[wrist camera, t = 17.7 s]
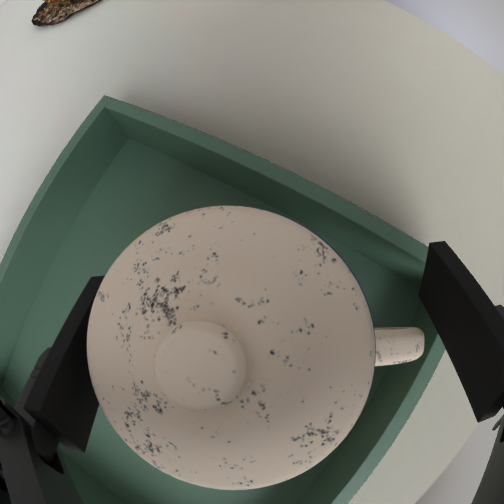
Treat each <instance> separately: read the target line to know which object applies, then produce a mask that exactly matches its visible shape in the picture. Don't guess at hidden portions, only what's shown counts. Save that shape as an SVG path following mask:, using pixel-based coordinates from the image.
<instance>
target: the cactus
mask: <svg viewBox="0 0 504 504" xmlns="http://www.w3.org/2000/svg"><path fill="white" fill-rule="evenodd" d="M44 1H45V2H44V3H43V4H42V5H41V6H40V7H39V8H38V9H37V12H36V14H35V15H34V16H33V19H32V23H33V24H34V25H38V26H42V25H45V24H46V25H52V24H56V23H57V22H59V21H62V20H64V19H65V18H66V17H68V16H69V15H70V14H72V13H75V12H76V11H78V10H80V9H83V8H85V7H86V6H88V5H90V4H93V3H94V2H96V1H98V0H44Z"/></svg>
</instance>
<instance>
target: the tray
mask: <svg viewBox="0 0 504 504" xmlns="http://www.w3.org/2000/svg"><path fill="white" fill-rule="evenodd" d="M212 206H243V207H251V208H257V209H261V210H266V211H270V212H273V213H276V214H279V215H282V216H284V217H287V218H289V219H291V220H293V221H296V222H297V223H299V224H301V225H303V226H304V227H306V228H308V229H309V230H311V231H312V232H314V233H315V234H317V235H318V236H319V237H321V238H322V239H323V240H324V241H325V242H326V243H328V244H329V245H330V246H331V247H332V248H333V249H334V250H335V251H336V252H337V253H338V254H339V255H340V256H341V258H342V259H343V260H344V261H345V263H346V264H347V265H348V267H349V268H350V269H351V271H352V272H353V274H354V276H355V277H356V279H357V280H358V282H359V284H360V286H361V288H362V290H363V292H364V295H365V297H366V300H367V303H368V305H369V308H370V312H371V316H372V320H373V324H374V328H385V327H416V328H419V329H421V330H422V331H423V333H424V351H423V354H422V355H421V356H420V357H419V358H417V359H416V360H413V361H410V362H406V363H400V364H393V365H383V366H375V370H374V375H373V380H372V385H371V388H370V391H369V395H368V397H367V400H366V402H365V405H364V407H363V409H362V412H361V414H360V415H359V417H358V419H357V421H356V423H355V424H354V426H353V427H352V429H351V430H350V432H349V433H348V434H347V436H346V437H345V438H344V439H343V441H342V442H341V443H340V444H339V445H338V446H337V447H336V448H335V449H334V450H333V451H332V452H331V453H330V454H329V455H328V456H327V457H326V458H324V459H323V460H322V461H320V462H319V463H318V464H316V465H315V466H313V467H312V468H310V469H308V470H307V471H305V472H303V473H302V474H299V475H297V476H295V477H293V478H291V479H289V480H286V481H283V482H280V483H277V484H274V485H270V486H266V487H261V488H255V489H247V490H222V489H213V488H207V487H202V486H198V485H194V484H190V483H188V482H185V481H182V480H179V479H177V478H175V477H172V476H170V475H168V474H166V473H164V472H162V471H161V470H159V469H157V468H155V467H154V466H152V465H151V464H149V463H148V462H147V461H145V460H144V459H143V458H141V457H140V456H139V455H138V454H137V453H135V452H134V451H133V450H132V449H131V448H130V447H129V446H128V445H127V444H126V443H125V442H124V441H123V439H122V438H121V437H120V436H119V435H118V433H117V432H116V431H115V429H114V428H113V427H112V425H111V424H110V422H109V421H108V419H107V417H106V415H105V414H104V412H103V410H102V408H101V406H100V404H99V407H98V410H97V413H96V417H95V420H94V423H93V426H92V430H91V433H90V437H89V440H88V443H87V447H86V451H85V453H83V452H79V451H74V450H70V449H68V448H66V447H65V446H64V445H63V444H62V443H60V442H59V444H58V449H59V450H60V451H61V453H62V455H63V457H64V460H65V462H66V465H67V467H68V470H69V472H70V474H71V477H72V479H73V481H74V483H75V486H76V488H77V490H78V492H79V494H80V496H81V498H82V500H83V502H84V504H347V503H348V502H349V501H350V500H351V499H352V497H353V496H354V495H355V494H356V493H357V491H358V490H359V489H360V488H361V486H362V485H363V484H364V482H365V481H366V480H367V479H368V477H369V476H370V475H371V473H372V472H373V471H374V469H375V468H376V466H377V465H378V464H379V462H380V461H381V459H382V458H383V457H384V455H385V454H386V452H387V451H388V449H389V448H390V446H391V445H392V443H393V442H394V440H395V439H396V437H397V436H398V434H399V433H400V431H401V430H402V428H403V426H404V425H405V423H406V422H407V420H408V418H409V417H410V415H411V413H412V412H413V410H414V408H415V406H416V405H417V403H418V401H419V399H420V398H421V396H422V394H423V392H424V390H425V389H426V387H427V385H428V383H429V381H430V379H431V377H432V375H433V373H434V371H435V369H436V367H437V365H438V363H439V361H440V359H441V357H442V355H443V353H444V351H445V349H446V348H445V346H444V344H443V342H442V340H441V338H440V336H439V334H438V332H437V330H436V328H435V326H434V324H433V322H432V321H431V319H430V317H429V315H428V313H427V311H426V309H425V307H424V305H423V304H422V302H421V300H420V298H419V296H418V295H419V291H420V286H421V282H422V278H423V273H424V268H425V263H426V258H427V253H428V248H429V247H427V246H425V245H424V244H422V243H420V242H419V241H417V240H415V239H414V238H412V237H410V236H409V235H407V234H405V233H404V232H402V231H400V230H399V229H397V228H395V227H393V226H392V225H390V224H388V223H387V222H385V221H383V220H381V219H380V218H378V217H376V216H374V215H372V214H371V213H369V212H367V211H365V210H363V209H362V208H360V207H358V206H356V205H354V204H352V203H351V202H349V201H347V200H345V199H343V198H341V197H339V196H337V195H336V194H334V193H332V192H330V191H328V190H326V189H324V188H322V187H320V186H318V185H316V184H314V183H312V182H310V181H308V180H306V179H304V178H302V177H300V176H298V175H296V174H294V173H292V172H290V171H288V170H286V169H284V168H282V167H280V166H278V165H275V164H273V163H271V162H269V161H267V160H265V159H263V158H261V157H258V156H256V155H254V154H252V153H250V152H247V151H245V150H243V149H241V148H238V147H236V146H234V145H232V144H229V143H227V142H225V141H222V140H220V139H218V138H215V137H213V136H211V135H208V134H206V133H204V132H201V131H199V130H196V129H194V128H191V127H189V126H186V125H184V124H181V123H179V122H176V121H174V120H171V119H169V118H166V117H163V116H161V115H158V114H155V113H153V112H150V111H147V110H145V109H142V108H139V107H136V106H134V105H131V104H128V103H125V102H122V101H119V100H116V99H114V98H111V97H108V96H105V95H104V96H103V98H102V99H101V100H100V101H99V103H98V104H97V105H96V106H95V108H94V109H93V110H92V111H91V113H90V114H89V115H88V117H87V118H86V119H85V121H84V122H83V123H82V125H81V126H80V127H79V129H78V130H77V131H76V133H75V134H74V136H73V137H72V138H71V140H70V141H69V143H68V144H67V146H66V147H65V148H64V150H63V151H62V153H61V154H60V156H59V157H58V159H57V160H56V162H55V164H54V165H53V167H52V168H51V170H50V171H49V173H48V175H47V176H46V178H45V179H44V181H43V183H42V184H41V186H40V188H39V190H38V191H37V193H36V195H35V196H34V198H33V200H32V202H31V204H30V205H29V207H28V209H27V211H26V213H25V215H24V216H23V218H22V220H21V222H20V224H19V226H18V228H17V230H16V232H15V234H14V236H13V238H12V240H11V242H10V244H9V247H8V249H7V251H6V253H5V255H4V257H3V260H2V262H1V264H0V396H2V397H3V398H4V399H5V400H6V401H7V402H8V403H9V404H10V405H11V406H12V407H13V408H15V406H16V404H17V402H18V399H19V397H20V395H21V393H22V391H23V389H24V386H25V384H26V382H27V380H28V378H30V374H31V372H32V370H34V366H35V364H36V362H37V360H38V358H39V356H40V355H41V354H42V353H43V352H44V351H45V350H46V349H47V347H52V345H53V343H54V341H55V339H56V337H57V336H58V334H59V332H60V330H61V328H62V326H63V324H64V323H65V321H66V319H67V317H68V315H69V314H70V312H71V310H72V308H73V306H74V305H75V303H76V301H77V300H78V298H79V296H80V294H81V293H82V291H83V289H84V288H85V286H86V284H87V283H88V281H89V279H90V278H91V277H94V276H105V275H106V274H107V272H108V270H109V269H110V267H111V266H112V265H113V263H114V262H115V260H116V259H117V258H118V257H119V256H120V254H121V253H122V252H123V251H124V250H125V249H126V248H127V247H128V246H129V245H130V244H131V243H132V242H133V241H134V240H135V239H136V238H138V237H139V236H140V235H142V234H143V233H144V232H145V231H147V230H148V229H150V228H152V227H153V226H155V225H156V224H158V223H160V222H162V221H164V220H166V219H168V218H170V217H173V216H175V215H178V214H181V213H184V212H187V211H191V210H194V209H199V208H205V207H212ZM473 277H474V276H473Z"/></svg>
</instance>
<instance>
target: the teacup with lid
mask: <svg viewBox="0 0 504 504" xmlns="http://www.w3.org/2000/svg"><path fill="white" fill-rule="evenodd" d="M423 351H424V333H423V331H422V330H421V329H419V328H416V327H385V328H374V324H373V320H372V316H371V312H370V308H369V305H368V303H367V300H366V297H365V295H364V292H363V290H362V288H361V286H360V284H359V282H358V280H357V279H356V277H355V276H354V274H353V272H352V271H351V269H350V268H349V267H348V265H347V264H346V263H345V261H344V260H343V259H342V258H341V256H340V255H339V254H338V253H337V252H336V251H335V250H334V249H333V248H332V247H331V246H330V245H329V244H328V243H326V242H325V241H324V240H323V239H322V238H321V237H319V236H318V235H317V234H315V233H314V232H312V231H311V230H309V229H308V228H306V227H304V226H303V225H301V224H299V223H297V222H296V221H293V220H291V219H289V218H287V217H284V216H282V215H279V214H276V213H273V212H270V211H266V210H261V209H257V208H251V207H243V206H212V207H205V208H199V209H194V210H191V211H187V212H184V213H181V214H178V215H175V216H173V217H170V218H168V219H166V220H164V221H162V222H160V223H158V224H156V225H155V226H153V227H152V228H150V229H148V230H147V231H145V232H144V233H143V234H142V235H140V236H139V237H138V238H136V239H135V240H134V241H133V242H132V243H131V244H130V245H129V246H128V247H127V248H126V249H125V250H124V251H123V252H122V253H121V254H120V256H119V257H118V258H117V259H116V260H115V262H114V263H113V265H112V266H111V267H110V269H109V270H108V272H107V274H106V275H105V277H104V279H103V281H102V283H101V285H100V287H99V289H98V291H97V294H96V297H95V300H94V302H93V305H92V309H91V313H90V317H89V323H88V330H87V359H88V367H89V373H90V377H91V381H92V385H93V388H94V391H95V394H96V397H97V399H98V401H99V404H100V406H101V408H102V410H103V412H104V414H105V415H106V417H107V419H108V421H109V422H110V424H111V425H112V427H113V428H114V429H115V431H116V432H117V433H118V435H119V436H120V437H121V438H122V439H123V441H124V442H125V443H126V444H127V445H128V446H129V447H130V448H131V449H132V450H133V451H134V452H135V453H137V454H138V455H139V456H140V457H141V458H143V459H144V460H145V461H147V462H148V463H149V464H151V465H152V466H154V467H155V468H157V469H159V470H161V471H162V472H164V473H166V474H168V475H170V476H172V477H175V478H177V479H179V480H182V481H185V482H188V483H190V484H194V485H198V486H202V487H207V488H213V489H222V490H247V489H255V488H261V487H266V486H270V485H274V484H277V483H280V482H283V481H286V480H289V479H291V478H293V477H295V476H297V475H299V474H302V473H303V472H305V471H307V470H308V469H310V468H312V467H313V466H315V465H316V464H318V463H319V462H320V461H322V460H323V459H324V458H326V457H327V456H328V455H329V454H330V453H331V452H332V451H333V450H334V449H335V448H336V447H337V446H338V445H339V444H340V443H341V442H342V441H343V439H344V438H345V437H346V436H347V434H348V433H349V432H350V430H351V429H352V427H353V426H354V424H355V423H356V421H357V419H358V417H359V415H360V414H361V412H362V409H363V407H364V405H365V402H366V400H367V397H368V395H369V391H370V388H371V385H372V380H373V375H374V370H375V366H383V365H393V364H400V363H406V362H410V361H413V360H416V359H417V358H419V357H420V356H421V355H422V354H423Z"/></svg>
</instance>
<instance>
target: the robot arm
mask: <svg viewBox="0 0 504 504" xmlns="http://www.w3.org/2000/svg"><path fill="white" fill-rule="evenodd" d="M104 277H105V276H94V277H91V278H90V279H89V281H88V283H87V284H86V286H85V288H84V289H83V291H82V293H81V294H80V296H79V298H78V300H77V301H76V303H75V305H74V306H73V308H72V310H71V312H70V314H69V315H68V317H67V319H66V321H65V323H64V324H63V326H62V328H61V330H60V332H59V334H58V336H57V337H56V339H55V341H54V343H53V345H52V347H47V349H46V350H45V351H44V352H43V353H42V354H41V355H40V356H39V358H38V360H37V362H36V364H35V366H34V370H32V372H31V374H30V378H28V380H27V382H26V384H25V386H24V389H23V391H22V393H21V395H20V397H19V399H18V402H17V404H16V406H15V408H13V407H12V406H11V405H10V404H9V403H8V402H7V401H6V400H5V399H4V398H3V397H2V396H0V504H84V502H83V500H82V498H81V496H80V494H79V492H78V490H77V488H76V486H75V483H74V481H73V479H72V477H71V474H70V472H69V470H68V467H67V465H66V462H65V460H64V457H63V455H62V453H61V451H60V450H59V449H58V444H59V442H60V443H62V444H63V445H64V446H65V447H66V448H68V449H70V450H74V451H79V452H83V453H85V451H86V447H87V443H88V440H89V437H90V433H91V430H92V426H93V423H94V420H95V417H96V413H97V410H98V407H99V401H98V399H97V397H96V394H95V391H94V388H93V385H92V381H91V377H90V373H89V367H88V359H87V330H88V323H89V317H90V313H91V309H92V305H93V302H94V300H95V297H96V294H97V291H98V289H99V287H100V285H101V283H102V281H103V279H104ZM418 296H419V298H420V300H421V302H422V304H423V305H424V307H425V309H426V311H427V313H428V315H429V317H430V319H431V321H432V322H433V324H434V326H435V328H436V330H437V332H438V334H439V336H440V338H441V340H442V342H443V344H444V346H445V348H446V350H447V352H448V355H449V357H450V359H451V361H452V363H453V365H454V367H455V370H456V372H457V374H458V376H459V378H460V381H461V383H462V385H463V388H464V390H465V392H466V395H467V397H468V399H469V402H470V404H471V407H472V409H473V412H474V414H475V417H476V419H477V422H481V421H483V420H486V419H488V418H491V417H493V416H495V415H496V414H497V413H498V411H499V410H500V409H501V408H502V406H503V409H504V307H503V306H502V305H497V306H494V305H493V303H492V302H491V300H490V299H489V297H488V296H487V295H486V293H485V292H484V290H483V289H482V288H481V286H480V285H479V284H478V282H477V281H476V280H475V278H474V277H473V276H472V274H471V273H470V272H469V270H468V269H467V268H466V267H465V265H464V264H463V263H462V262H461V260H460V259H459V258H458V257H457V255H456V254H455V253H454V252H453V250H452V249H451V248H450V247H449V246H448V244H447V243H446V242H445V241H442V242H433V243H429V248H428V253H427V258H426V263H425V268H424V273H423V278H422V282H421V286H420V291H419V295H418ZM499 425H500V427H499V431H498V434H497V437H496V440H495V444H494V447H493V450H492V453H491V456H490V459H489V461H488V464H487V467H486V470H485V472H484V475H483V478H482V480H481V483H480V485H479V487H478V490H477V492H476V495H475V497H474V499H473V502H472V504H504V415H503V416H502V417H501V418H500V420H499V421H498V422H497V423H496V424H495V426H494V427H493V429H492V430H495V429H496V428H497V427H498V426H499Z"/></svg>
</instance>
